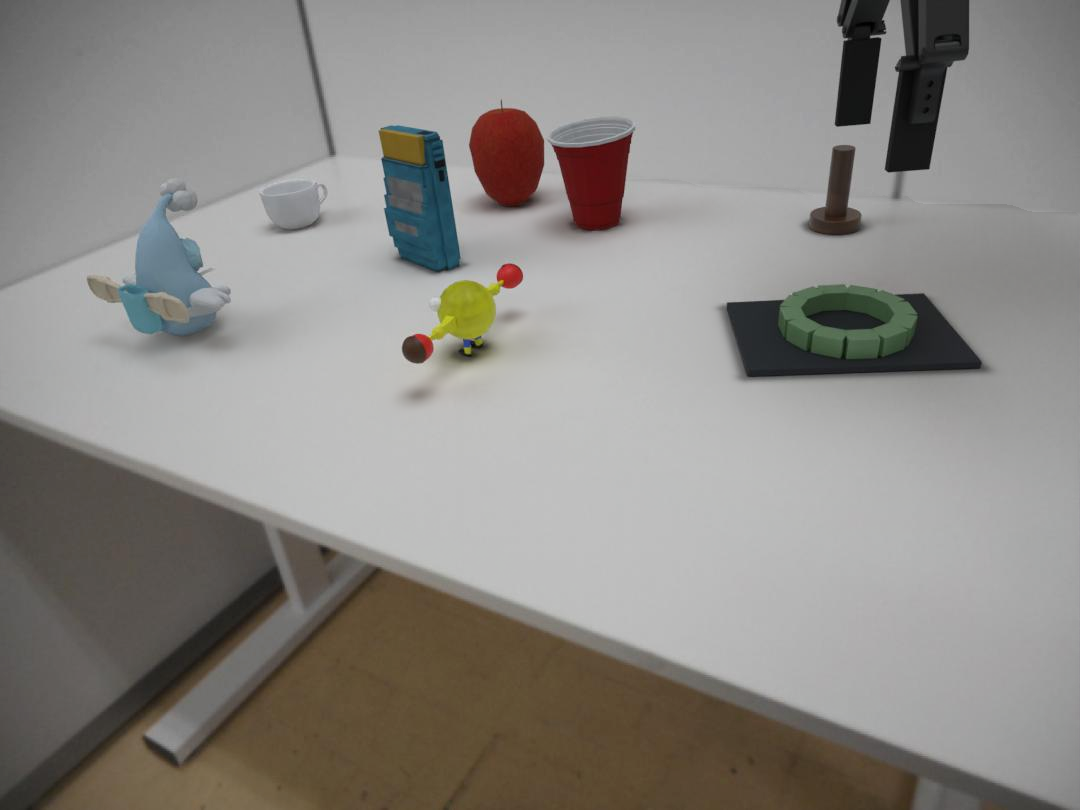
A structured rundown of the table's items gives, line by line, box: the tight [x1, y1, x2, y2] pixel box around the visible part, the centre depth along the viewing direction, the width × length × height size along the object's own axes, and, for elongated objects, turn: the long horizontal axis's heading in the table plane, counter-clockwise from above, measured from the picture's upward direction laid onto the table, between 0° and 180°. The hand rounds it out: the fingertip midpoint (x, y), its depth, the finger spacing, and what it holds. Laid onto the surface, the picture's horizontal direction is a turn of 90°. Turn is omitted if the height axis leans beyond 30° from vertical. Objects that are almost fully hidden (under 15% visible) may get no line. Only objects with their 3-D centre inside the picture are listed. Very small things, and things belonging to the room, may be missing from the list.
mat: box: [726, 292, 983, 377], centre depth 65 cm, size 18×13×1 cm
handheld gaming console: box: [378, 124, 462, 273], centre depth 85 cm, size 10×4×15 cm, turn 43°
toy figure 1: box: [86, 177, 232, 337], centre depth 74 cm, size 17×10×15 cm, turn 57°
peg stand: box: [808, 144, 862, 235], centre depth 85 cm, size 6×6×9 cm
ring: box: [778, 283, 918, 359], centre depth 64 cm, size 11×11×2 cm
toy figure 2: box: [401, 262, 524, 365], centre depth 67 cm, size 18×6×7 cm, turn 152°
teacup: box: [258, 178, 328, 230], centre depth 105 cm, size 10×8×5 cm
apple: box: [468, 98, 545, 208], centre depth 102 cm, size 10×10×14 cm
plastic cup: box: [546, 115, 637, 231], centre depth 92 cm, size 11×11×12 cm
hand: (876, 145), depth 57 cm, fingers open, 13 cm apart
